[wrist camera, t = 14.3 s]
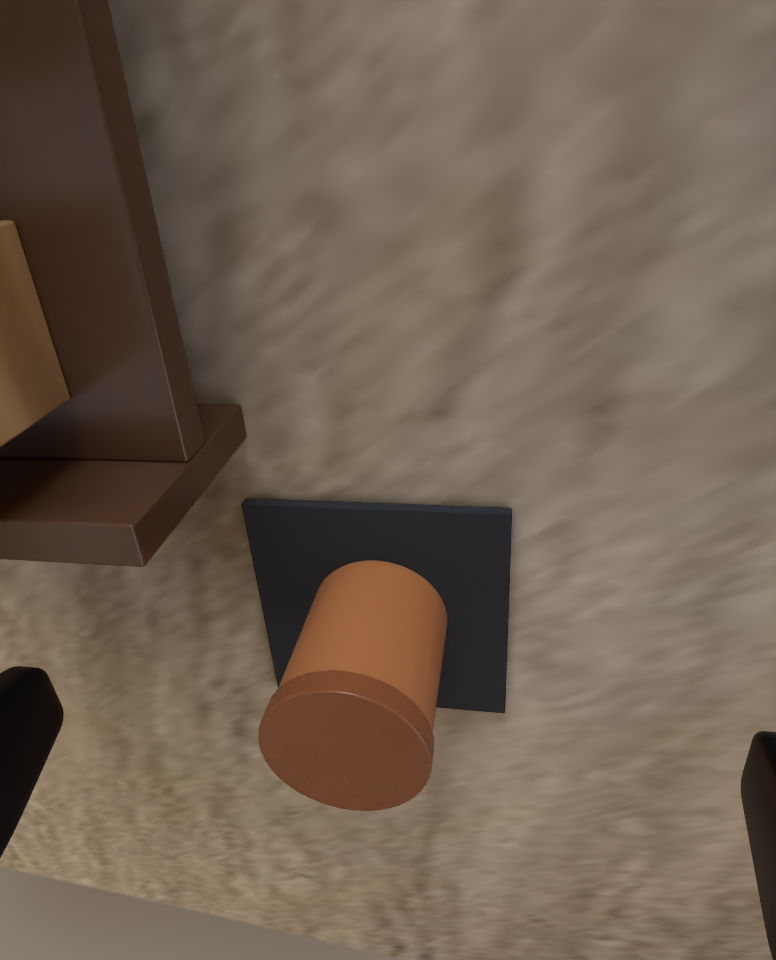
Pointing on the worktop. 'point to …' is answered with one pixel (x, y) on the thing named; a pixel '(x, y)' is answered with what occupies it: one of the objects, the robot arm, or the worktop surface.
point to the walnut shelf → (94, 306)
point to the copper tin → (360, 690)
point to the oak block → (24, 345)
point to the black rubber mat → (404, 541)
